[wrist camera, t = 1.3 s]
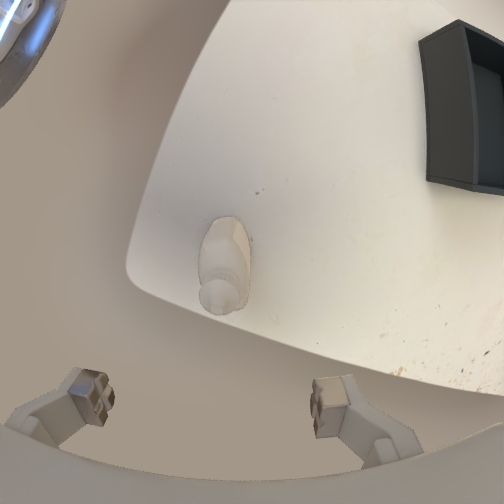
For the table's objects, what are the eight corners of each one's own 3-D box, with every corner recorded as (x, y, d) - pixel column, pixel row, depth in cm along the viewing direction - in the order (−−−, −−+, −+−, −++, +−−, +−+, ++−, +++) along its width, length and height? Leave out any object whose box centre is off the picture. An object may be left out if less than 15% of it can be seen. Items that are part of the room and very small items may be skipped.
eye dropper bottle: (263, 224, 27) (272, 277, 15) (243, 279, 29) (238, 358, 17) (217, 209, 26) (191, 251, 15) (200, 265, 28) (168, 336, 17)
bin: (418, 41, 21) (458, 18, 13) (499, 72, 21) (540, 65, 13) (425, 180, 25) (472, 191, 18) (504, 190, 25) (547, 203, 18)
